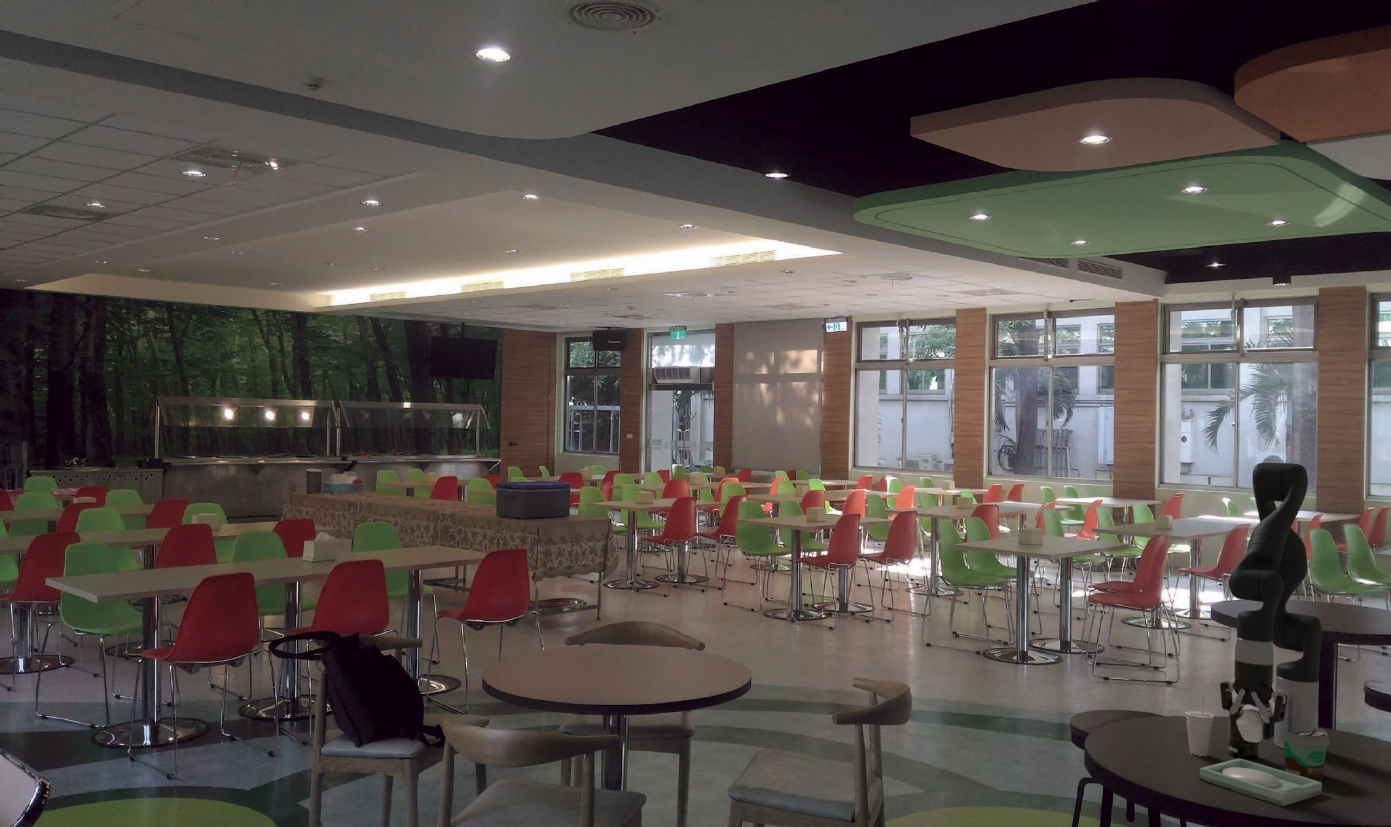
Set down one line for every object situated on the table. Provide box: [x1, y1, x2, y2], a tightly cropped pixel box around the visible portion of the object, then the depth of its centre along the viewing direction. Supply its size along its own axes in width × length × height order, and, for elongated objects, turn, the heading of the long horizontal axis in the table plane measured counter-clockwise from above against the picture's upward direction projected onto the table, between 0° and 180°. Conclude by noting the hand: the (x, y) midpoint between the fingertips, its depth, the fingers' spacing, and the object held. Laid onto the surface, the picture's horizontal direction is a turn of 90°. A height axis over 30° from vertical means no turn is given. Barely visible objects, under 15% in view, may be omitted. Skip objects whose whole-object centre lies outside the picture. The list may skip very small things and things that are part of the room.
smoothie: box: [1184, 695, 1215, 757], centre depth 244 cm, size 6×6×14 cm
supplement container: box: [1227, 709, 1261, 761], centre depth 244 cm, size 7×7×10 cm
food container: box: [1282, 727, 1331, 781], centre depth 230 cm, size 12×6×10 cm, turn 117°
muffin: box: [1236, 708, 1265, 742], centre depth 224 cm, size 6×6×7 cm
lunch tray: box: [1199, 758, 1323, 807], centre depth 222 cm, size 16×18×2 cm
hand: (1251, 735), depth 224 cm, fingers closed on muffin, 6 cm apart
